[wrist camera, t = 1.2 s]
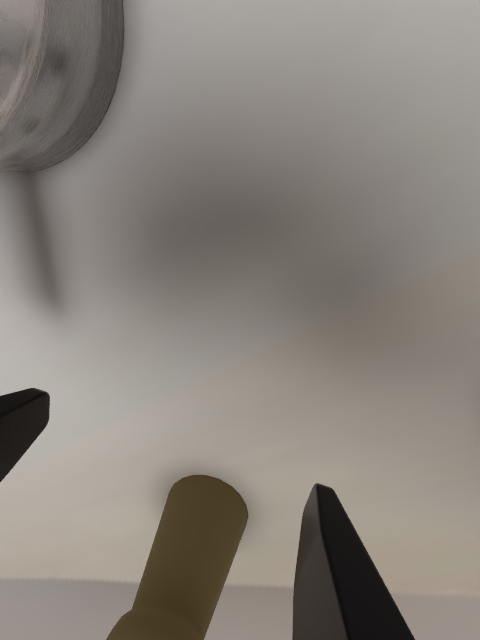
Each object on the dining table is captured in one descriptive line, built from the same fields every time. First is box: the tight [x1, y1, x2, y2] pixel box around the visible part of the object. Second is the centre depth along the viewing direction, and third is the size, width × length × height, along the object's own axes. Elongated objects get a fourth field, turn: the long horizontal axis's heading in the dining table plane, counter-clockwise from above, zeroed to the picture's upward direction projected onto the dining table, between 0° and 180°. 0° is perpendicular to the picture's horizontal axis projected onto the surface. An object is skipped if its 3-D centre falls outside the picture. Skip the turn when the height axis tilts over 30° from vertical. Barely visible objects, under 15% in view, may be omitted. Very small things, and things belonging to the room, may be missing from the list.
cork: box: [107, 475, 248, 640], centre depth 20 cm, size 6×6×11 cm
